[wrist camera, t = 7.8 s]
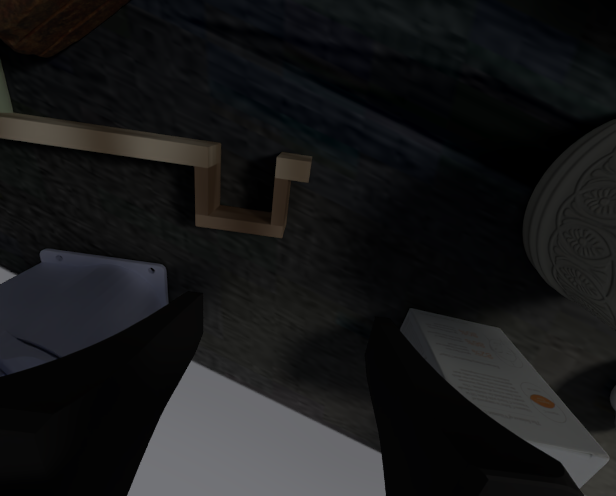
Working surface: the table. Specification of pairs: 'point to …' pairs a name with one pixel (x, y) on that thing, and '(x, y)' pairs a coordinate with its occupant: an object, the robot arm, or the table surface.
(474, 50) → the table surface
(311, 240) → the table surface
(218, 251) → the table surface
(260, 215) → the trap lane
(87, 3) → the brick
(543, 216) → the jar
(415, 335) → the small box
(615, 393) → the flower vase
